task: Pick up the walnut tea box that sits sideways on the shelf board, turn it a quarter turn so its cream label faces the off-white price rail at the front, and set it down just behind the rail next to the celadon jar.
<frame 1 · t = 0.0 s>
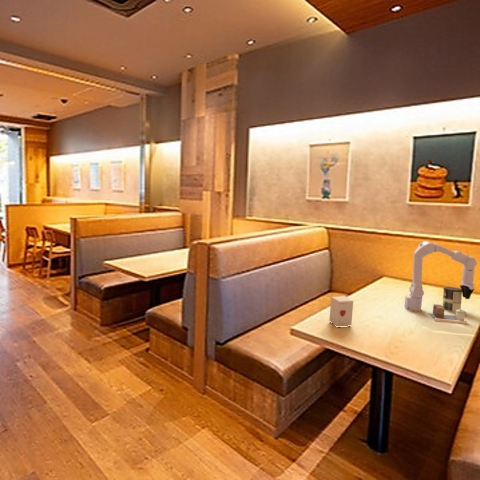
hand: (466, 298, 223), 11 cm above the table, fingers open, 3 cm apart
celadon jar: (459, 320, 210), point 1 cm above the table, touching shelf board
coffee can: (451, 310, 230), on the table, touching gripper
shelf board: (446, 319, 214), on the table
tea box: (438, 315, 218), point 1 cm above the table, touching shelf board
supplement box: (340, 324, 202), on the table
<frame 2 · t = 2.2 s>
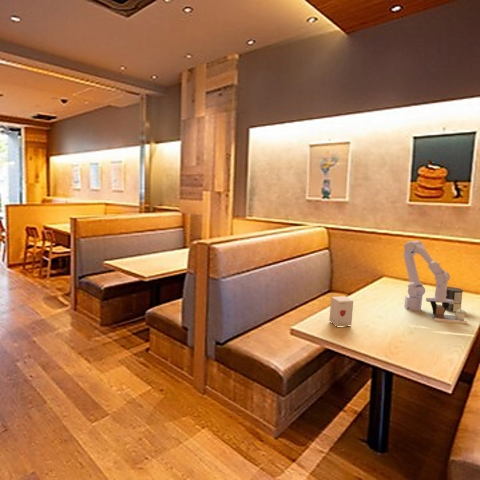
hand: (438, 314, 217), 2 cm above the table, fingers closed on tea box, 4 cm apart
coffee can: (451, 311, 230), on the table
tea box: (438, 315, 218), point 1 cm above the table, touching gripper, shelf board
everything else where it was.
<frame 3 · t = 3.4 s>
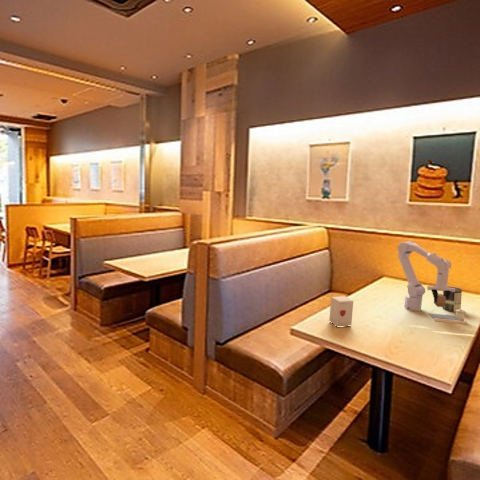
hand: (439, 302, 216), 9 cm above the table, fingers closed on tea box, 4 cm apart
tea box: (439, 305, 217), point 8 cm above the table, touching gripper
when the fingers open (3 cm above the table, at t = 5.4 s): tea box stays where it is, resting on shelf board.
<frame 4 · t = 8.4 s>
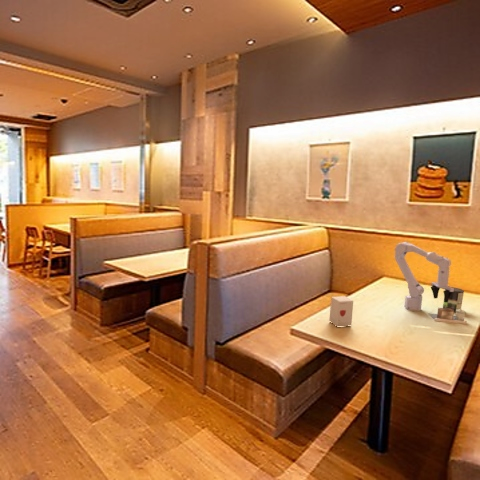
hand: (440, 300, 219), 10 cm above the table, fingers open, 7 cm apart
tea box: (444, 319, 212), point 1 cm above the table, touching shelf board
at the end: tea box 0.2 cm from the target spot, point 1.0 cm above the table; tea box tilted 0°; the gripper is holding nothing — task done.
